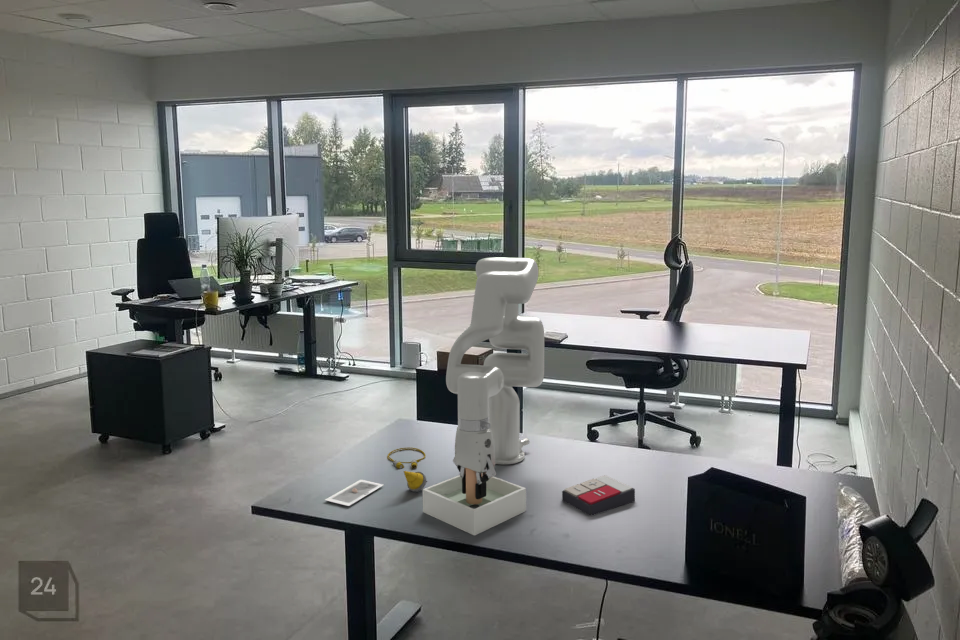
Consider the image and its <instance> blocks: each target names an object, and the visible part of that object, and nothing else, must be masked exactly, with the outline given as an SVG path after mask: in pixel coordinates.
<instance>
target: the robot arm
mask: <svg viewBox="0 0 960 640" xmlns="http://www.w3.org/2000/svg"><path fill="white" fill-rule="evenodd" d="M475 275H476V277H477V278H476V281H475V282H476V283H475V287H474V288H475V289H474V297H473V301H472V302H473V303H472V311H471V320H470V324H469V326H468V327H467V328H466V329H465V330H464V331H463V332H461V334H460V335H459V336H458V337H457V338H456V340H455V342H454V343H453V345H452V346H451V349H450V351H449V354H448V359H447V367H446V372H445V374H446V375H445V384H446V387H447V390H448V391H449V392H451V393H453V394H455V395H457V427H456V432H455V440H454V457H453V459H452V462H453V464H454V465H455V466H456V468H457V470H458V472H459V475H460V477H461V478H462V493H463V494H466V468H468V469H471V470H473V471H476V477H477V483H476V484H475V498H476V499H481V498H483V497H485V496H486V482H487V481H488V480H489V479H490V478H491V477H493V476H494V477H496V475H497V472H496V470H495V467H496V465H514V464H517V463H521V462H522V461H523V460H525V457H526V455H525V454H526V453H525V452H524V451H523V449H522V448H523V447H524V446H527V445H530V443H531V442H530V439H529V438H523V439H522V440H521V438H520V437H521V436H520V434H521V432H520V430H521V429H520V419H521V418H520V405H521V404H520V403H521V402H520V398H519V395H518V393H517V392H516V391H515V389H514V388H513V387H517V388H518V387H519V388H520V387H523V388H537V387H539V386H541V385H542V383H543V382H544V377H545V329H544V328H545V327H544V324H543V322H542V320H541V318H539V317H536V316H530V315H529V316H527V315H526V316H525V315H520V314H519V305H522V304H526V303H528V302H529V300H530V299H531V297H532V296H533V295H532V294H533V293H534V289H535V288H536V286H537V283H538V279H539V266H538V263H537V262H536V260H534V259H533V258H529V257H501V256H500V257H499V256H498V257H496V256H493V257H485V258H480V259H478V261H477V262H476V264H475ZM486 340H489V343H490V345H491V346H492V347H494V348H498V349H503V350H505V349H506V350H522V351H523V350H525V351H526V352H527V353H518V352H517V353H516V352H494V353H490V354H489V355H488V356H486V357H485V359H484V361H483V365H480V364H466V363H465V364H463V363H462V361H463V357H464V355H465V354H466V352H468V350H470V349H471V348H472V347H474V346H476V345H478V344H480V343H483V342H484V341H486ZM481 473H483V476H482V477H481Z"/></svg>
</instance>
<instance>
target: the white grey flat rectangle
mask: <svg viewBox="0 0 960 640" xmlns="http://www.w3.org/2000/svg"><path fill="white" fill-rule="evenodd" d="M383 486H384V484H383V483H378V482H373V481H369V480H365V479H359V480H357V481H356V482H354V483H352V484H350V485H349V486H347V487H345V488H344V489H341V490H340V491H338V492H336V493H334V494H332V495H331V496H329V497H327V498H325V499H324V501H327V502H331V503H335V504H338V505H343V506H347V507H350V506H352V505H353V504H355V503H357V502H358V501H360V500H361V499H363V498H365V497H366V496H368V495H370V494H372V493H374V492H375V491H376V490H378V489H380V488H381V487H383Z"/></svg>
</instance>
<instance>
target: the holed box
mask: <svg viewBox="0 0 960 640" xmlns="http://www.w3.org/2000/svg"><path fill="white" fill-rule="evenodd" d="M482 476H483V473H482ZM473 505H474V504H468V503H467V502H466V494H463V493H462V478H461V477H460V474H458V475H456V476H453V477H450V478H448V479H446V480H443V481H440V482H438V483H435V484H432V485H430V486H427V487H424V488H423V489H422V513H424V514H425V515H428V516H431V517H433V518H436V520H439V521H441V522H443V523H446V524H448V525H450V526H452V527H454V528H457V529H459V530H461V531H464V532H465V533H468V534H470V535H472V536H477V535H479V534H481V533H483V532H485V531H487V530H489V529H491V528H493V527H496V526H498V525H501V524H502V523H504V522H506V521H509V520H510V519H512V518H514V517H516V516H518V515H521V514H523V513H525V512H526V511H527V488H526V487H525V486H521V485H518V484H516V483H513V482H510V481H507V480H505V479H502V478H499V477H498V476H497V477H496V476H493V477H491V478H490V479H489V480H488V481H487V482H486V496H485V497H483V498H482V502H481V503H480V504H475V505H477V506H478V507H476V508H473V507H470V506H473Z"/></svg>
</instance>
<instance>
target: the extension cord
mask: <svg viewBox="0 0 960 640" xmlns="http://www.w3.org/2000/svg"><path fill="white" fill-rule="evenodd" d="M401 451H416V452H419V453H422V455H423V457H422V458H419V459H412V461H408V462H407V461H400V460H397V459H396V460H395V459H393V458H391V457H390V456H391V455H392V454H395V453H397V452H401ZM386 459H387V460H389V461H391V462H393V465H394V466H395V467H396V468H397V469H404V468H405V465H404V464H410V465H411V466H410V468H411V469H415V468H416V469H417V467H418V463H419V462H421V461H422V460H424V459H426V453H425V452H424V450H422V449H420V448H415V447H400V448H396V449H394V450H391V451H390V452H389V453H388V454H387V456H386Z"/></svg>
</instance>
